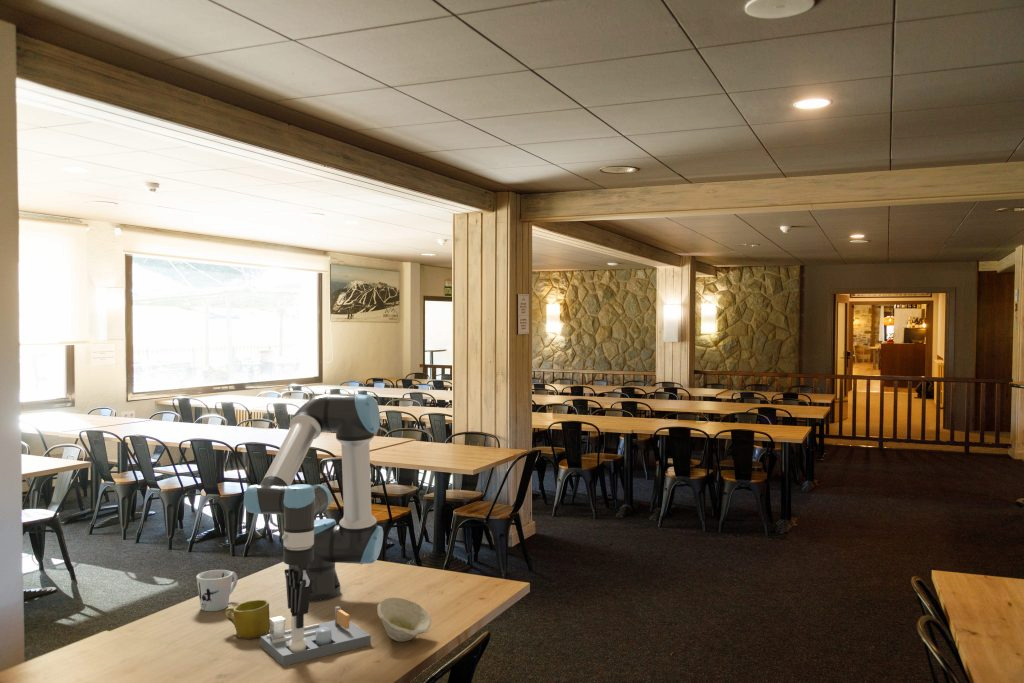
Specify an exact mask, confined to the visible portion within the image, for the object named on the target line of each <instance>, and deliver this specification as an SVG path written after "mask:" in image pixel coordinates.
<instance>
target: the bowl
mask: <svg viewBox="0 0 1024 683" xmlns="http://www.w3.org/2000/svg"><path fill="white" fill-rule="evenodd" d="M376 609H377V615H378V617H379V619H380V620H381V623H382V625H383V626H384V628H385V631H386V634H387V635H388V636H389V638H390V639H392V640H394V641H396V642H400V643H401V642H407V641H410V640H412V639H414V638H415V637H416V636H418V635H420V634H421V635H422V634H427V633H428V632H429V631H430V628H431V624H432V618H431V616H430V614H429V613H428V612H427V611H426V610H425V608H423V607H422V606H421V605H420V604H418V603H416V602H414V601H412V600H408V599H406V598H400V597H388V598H385V599H383V600H382V601H380V602H379V603H378V604H377V607H376Z"/></svg>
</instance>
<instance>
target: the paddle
mask: <svg viewBox="0 0 1024 683" xmlns="http://www.w3.org/2000/svg"><path fill="white" fill-rule="evenodd" d="M334 620H335V625H336V626H339V625H341V626H342V627H344V628H345V629H349V621H350V614H349V613H347V612H345V611H344V610H342V609H341V606H335V607H334Z"/></svg>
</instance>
